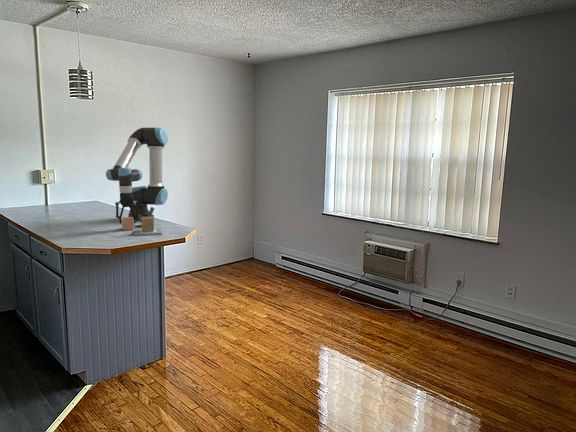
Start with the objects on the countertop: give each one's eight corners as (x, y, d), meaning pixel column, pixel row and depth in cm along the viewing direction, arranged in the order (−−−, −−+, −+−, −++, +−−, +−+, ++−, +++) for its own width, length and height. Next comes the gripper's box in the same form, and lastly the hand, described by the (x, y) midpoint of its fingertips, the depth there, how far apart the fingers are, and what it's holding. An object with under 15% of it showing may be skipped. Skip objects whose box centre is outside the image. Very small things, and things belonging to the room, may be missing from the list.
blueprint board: (134, 230, 277) (134, 228, 277) (161, 229, 282) (160, 227, 282) (134, 236, 262) (133, 234, 262) (162, 234, 267) (162, 232, 267)
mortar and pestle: (144, 227, 287) (143, 209, 285) (136, 225, 293) (135, 207, 291) (159, 225, 296) (158, 207, 294) (151, 223, 302) (150, 206, 300)
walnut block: (142, 229, 274) (141, 217, 273) (153, 229, 277) (153, 216, 275) (142, 232, 268) (141, 219, 267) (154, 231, 270) (153, 218, 269)
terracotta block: (123, 228, 284) (122, 217, 283) (133, 227, 286) (132, 217, 284) (123, 230, 278) (122, 219, 277) (133, 229, 280) (132, 218, 279)
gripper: (109, 193, 271) (111, 230, 275) (141, 192, 277) (143, 228, 281) (110, 192, 278) (112, 228, 282) (141, 191, 284) (143, 226, 288)
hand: (128, 228), depth 282 cm, fingers closed on terracotta block, 6 cm apart
